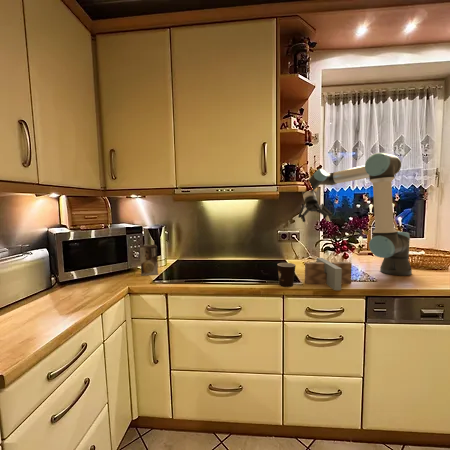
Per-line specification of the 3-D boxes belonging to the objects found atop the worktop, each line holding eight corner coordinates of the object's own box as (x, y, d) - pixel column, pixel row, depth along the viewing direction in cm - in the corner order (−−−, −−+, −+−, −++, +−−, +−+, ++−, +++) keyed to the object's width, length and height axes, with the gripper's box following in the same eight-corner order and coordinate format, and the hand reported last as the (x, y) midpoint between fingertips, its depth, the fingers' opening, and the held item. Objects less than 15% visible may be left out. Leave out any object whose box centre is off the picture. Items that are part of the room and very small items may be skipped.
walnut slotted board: (348, 281, 145) (348, 261, 144) (351, 283, 142) (351, 263, 141) (304, 282, 144) (305, 262, 143) (306, 283, 141) (307, 263, 140)
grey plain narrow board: (316, 276, 155) (316, 257, 154) (321, 276, 155) (322, 257, 154) (334, 290, 131) (335, 268, 130) (341, 290, 131) (341, 268, 131)
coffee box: (157, 271, 168) (156, 244, 166) (158, 274, 161) (157, 246, 160) (140, 273, 165) (139, 245, 163) (141, 276, 159) (140, 247, 157)
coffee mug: (295, 288, 135) (295, 267, 134) (276, 287, 137) (277, 266, 136) (294, 281, 146) (295, 261, 145) (277, 280, 148) (277, 261, 147)
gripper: (328, 203, 186) (337, 229, 173) (289, 203, 185) (295, 229, 172) (331, 195, 180) (341, 221, 167) (292, 195, 180) (298, 221, 166)
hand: (318, 225), depth 169 cm, fingers open, 13 cm apart
